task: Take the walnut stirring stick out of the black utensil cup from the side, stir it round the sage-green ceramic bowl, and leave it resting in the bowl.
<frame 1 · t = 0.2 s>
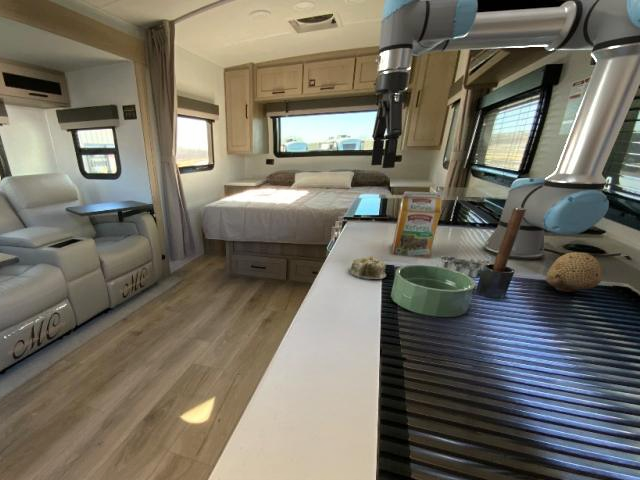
hand: (381, 166, 90), 27 cm above the worktop, tool pointing down, fingers open, 13 cm apart
yellow food carton: (409, 251, 111), on the worktop
stick: (489, 293, 79), resting on utensil cup
bowl: (427, 302, 76), on the worktop
cake: (367, 274, 93), on the worktop
natural sponge: (565, 293, 80), on the worktop
egg carton: (459, 272, 93), on the worktop
utensil cup: (489, 295, 79), on the worktop
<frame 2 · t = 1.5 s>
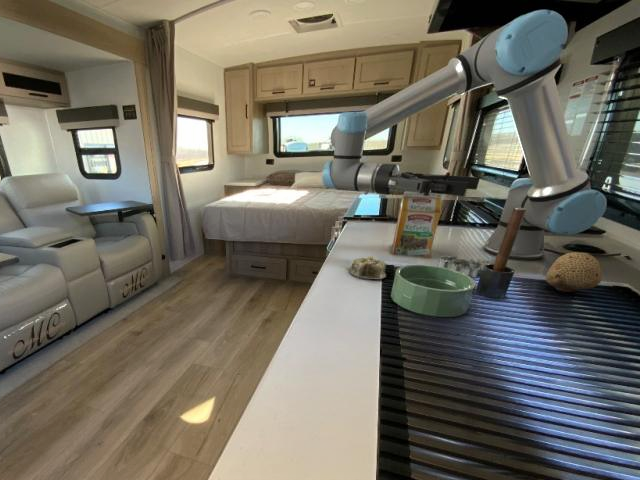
hand: (472, 186, 74), 24 cm above the worktop, tool horizontal, fingers open, 13 cm apart
nothing on the worktop moved.
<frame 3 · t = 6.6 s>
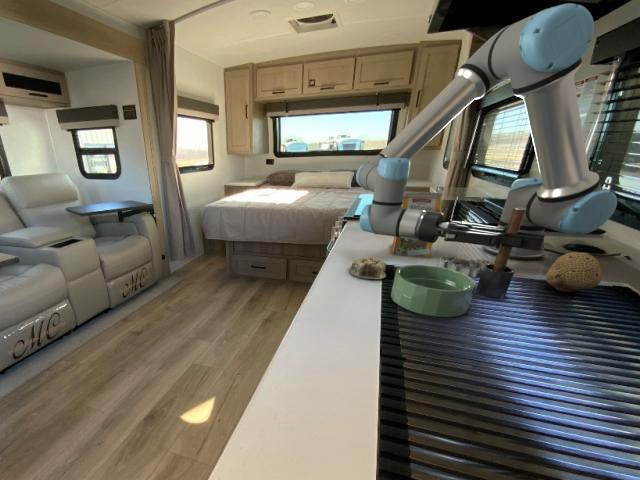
hand: (541, 243, 70), 14 cm above the worktop, tool horizontal, fingers closed on stick, 2 cm apart
stick: (489, 293, 79), resting on utensil cup, touching gripper
everything else where it was.
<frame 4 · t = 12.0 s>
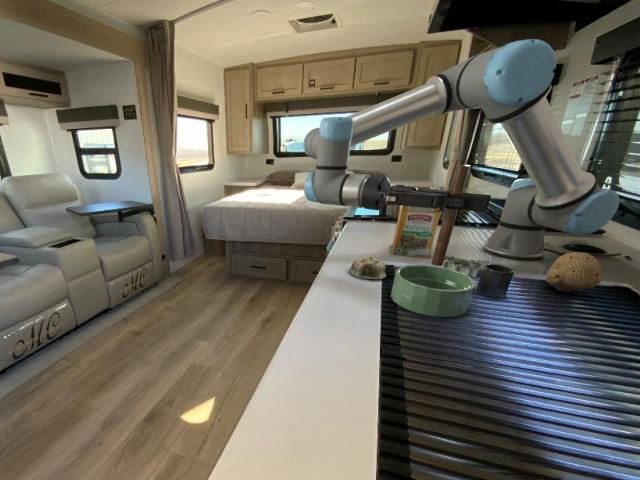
hand: (487, 203, 63), 23 cm above the worktop, tool horizontal, fingers closed on stick, 2 cm apart
stick: (436, 264, 72), point 9 cm above the worktop, touching gripper
everything else where it was.
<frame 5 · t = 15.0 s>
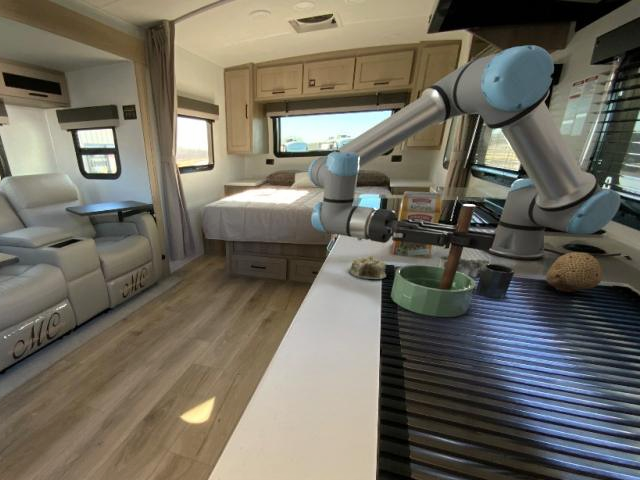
hand: (492, 242, 64), 16 cm above the worktop, tool horizontal, fingers closed on stick, 2 cm apart
stick: (442, 296, 74), point 2 cm above the worktop, touching gripper
everything else where it was.
when the fingers open (14 cm above the worktop, at t = 17.3 s): stick stays where it is, resting on bowl.
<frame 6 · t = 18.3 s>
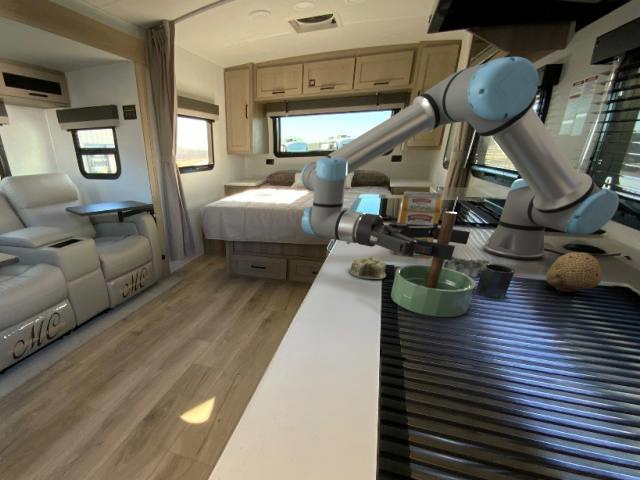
hand: (461, 245, 68), 14 cm above the worktop, tool horizontal, fingers open, 13 cm apart
stick: (427, 300, 76), point 1 cm above the worktop, touching bowl
everything else where it was.
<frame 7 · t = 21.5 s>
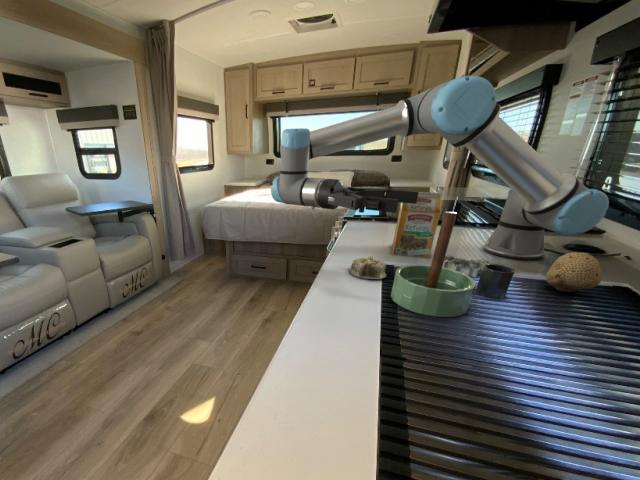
hand: (407, 201, 75), 21 cm above the worktop, tool horizontal, fingers open, 13 cm apart
nothing on the worktop moved.
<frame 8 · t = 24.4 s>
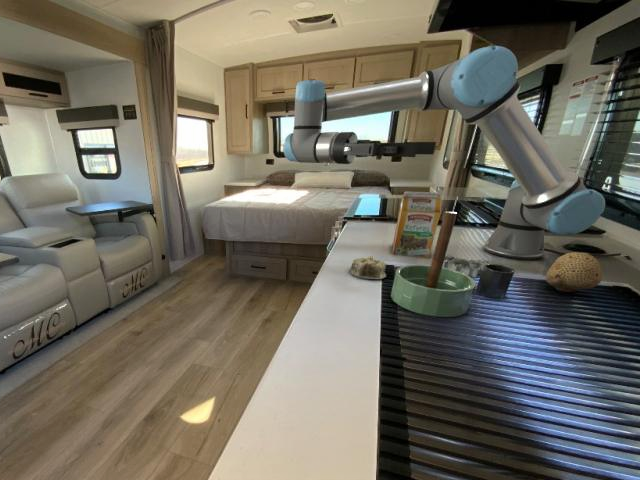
hand: (426, 149, 73), 32 cm above the worktop, tool horizontal, fingers open, 13 cm apart
nothing on the worktop moved.
at the end: stick inside the target area in the bowl (0.1 cm from its centre), point 0.6 cm above the bowl's base; stick moved 17.1 cm from its start; the gripper is holding nothing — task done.
